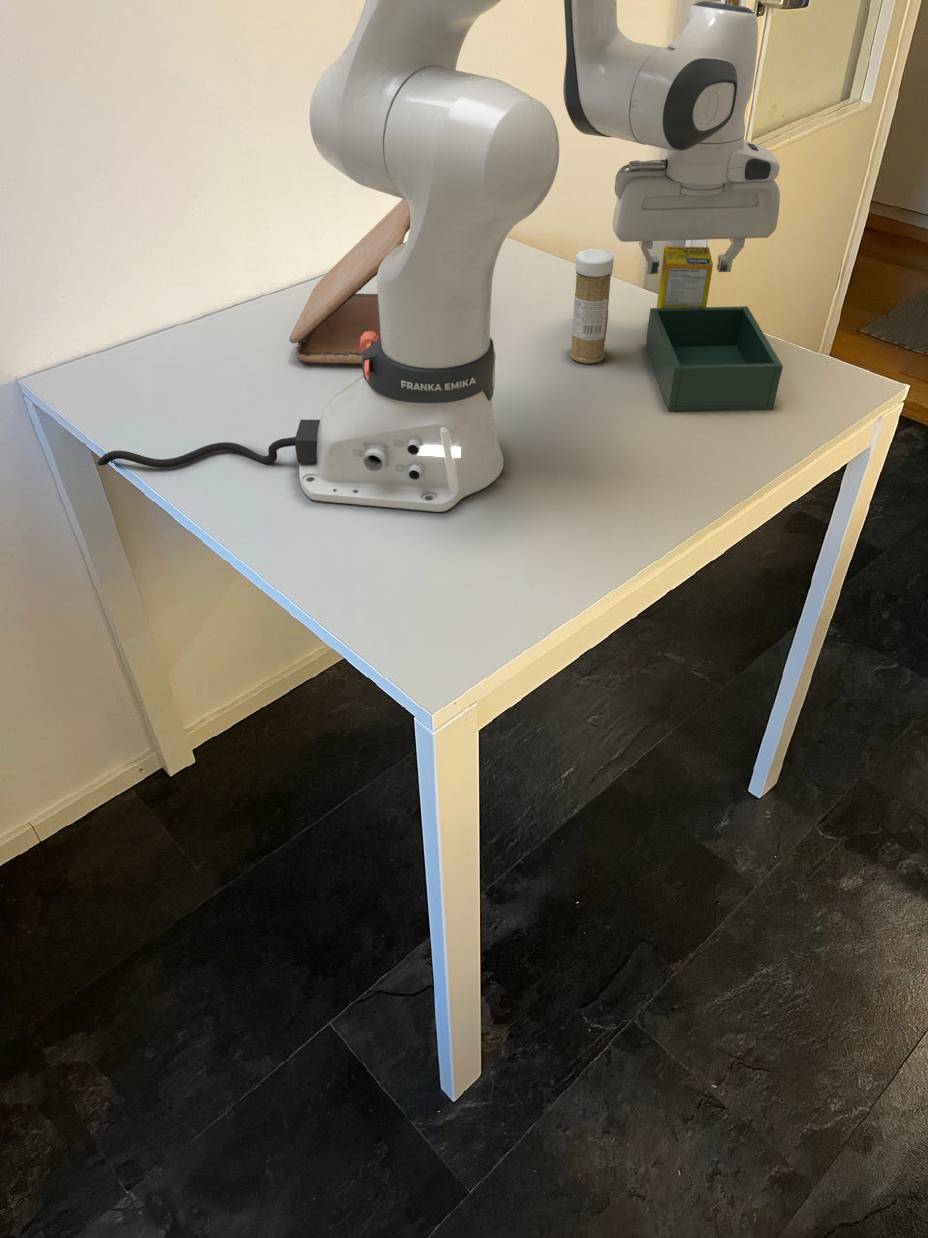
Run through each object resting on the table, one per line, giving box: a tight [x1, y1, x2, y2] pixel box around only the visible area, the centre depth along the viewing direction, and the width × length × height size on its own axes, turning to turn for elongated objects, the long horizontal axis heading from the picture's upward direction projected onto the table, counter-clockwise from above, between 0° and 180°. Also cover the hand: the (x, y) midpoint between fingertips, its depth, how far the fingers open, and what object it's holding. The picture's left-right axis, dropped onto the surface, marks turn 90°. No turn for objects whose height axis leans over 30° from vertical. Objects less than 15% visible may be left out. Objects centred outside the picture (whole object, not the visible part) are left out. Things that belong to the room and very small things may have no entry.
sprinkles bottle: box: [569, 248, 614, 365], centre depth 121 cm, size 5×5×13 cm
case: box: [288, 198, 411, 365], centre depth 126 cm, size 20×21×16 cm
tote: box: [644, 305, 784, 412], centre depth 119 cm, size 13×17×6 cm
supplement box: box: [656, 245, 714, 309], centre depth 126 cm, size 6×6×11 cm
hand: (687, 271), depth 125 cm, fingers open, 8 cm apart
